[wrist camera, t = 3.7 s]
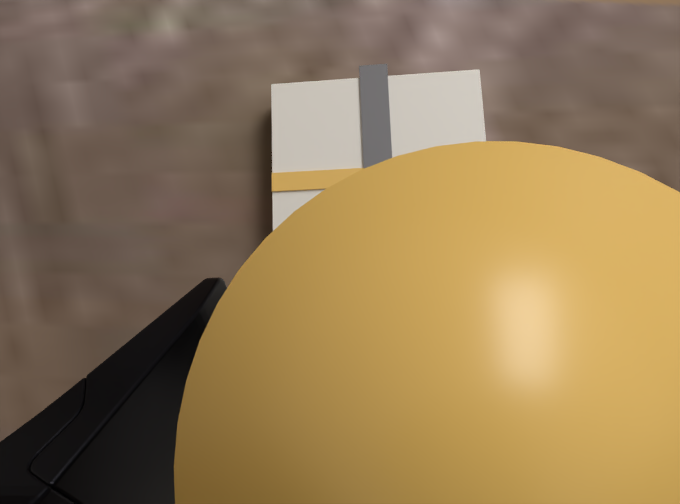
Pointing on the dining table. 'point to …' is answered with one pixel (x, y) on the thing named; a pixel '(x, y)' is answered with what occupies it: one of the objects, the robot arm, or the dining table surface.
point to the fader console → (364, 126)
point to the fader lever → (448, 341)
